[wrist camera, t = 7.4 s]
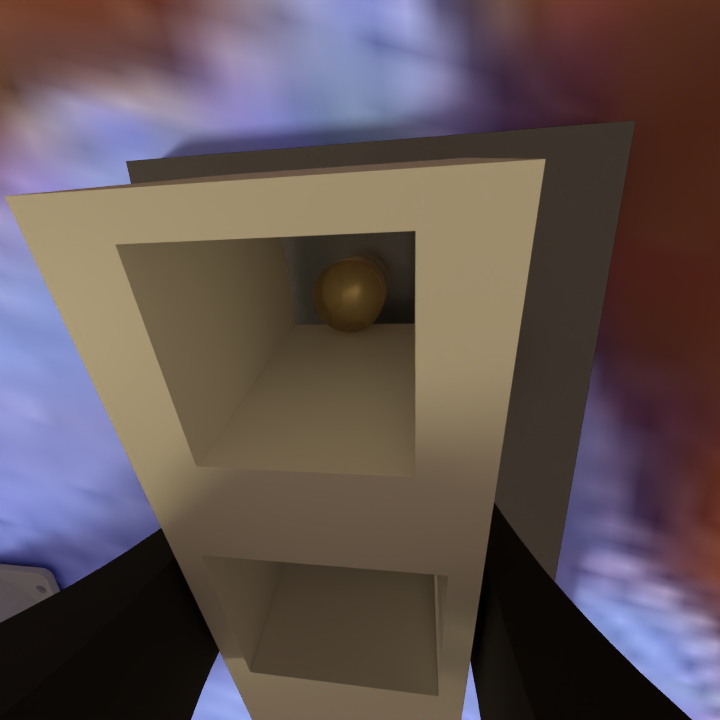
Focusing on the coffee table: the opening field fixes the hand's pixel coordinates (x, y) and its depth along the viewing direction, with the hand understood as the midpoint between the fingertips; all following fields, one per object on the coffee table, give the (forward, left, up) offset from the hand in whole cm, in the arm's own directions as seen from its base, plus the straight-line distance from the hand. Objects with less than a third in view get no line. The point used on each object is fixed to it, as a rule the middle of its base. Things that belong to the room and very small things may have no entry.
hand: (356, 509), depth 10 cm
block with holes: (+1, 0, -2) cm, 2 cm away
